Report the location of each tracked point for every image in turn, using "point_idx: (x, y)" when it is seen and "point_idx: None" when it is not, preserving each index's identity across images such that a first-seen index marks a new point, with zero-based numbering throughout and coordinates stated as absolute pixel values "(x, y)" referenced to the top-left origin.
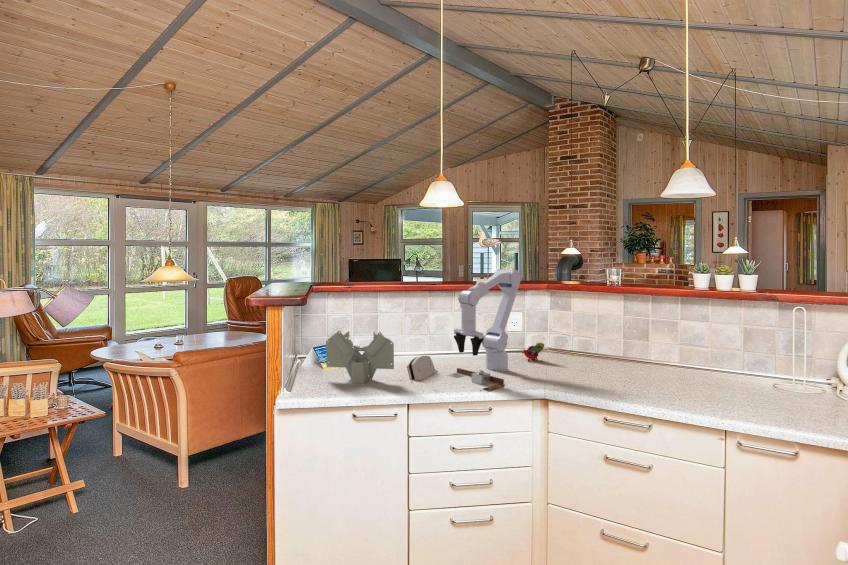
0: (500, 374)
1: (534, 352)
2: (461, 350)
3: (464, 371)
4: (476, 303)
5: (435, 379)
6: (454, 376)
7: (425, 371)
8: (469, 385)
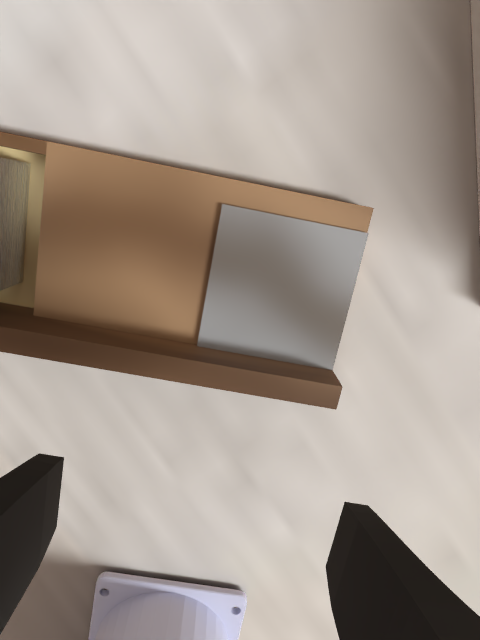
0: (73, 591)
1: None
2: (347, 547)
3: (235, 364)
4: None
5: (431, 142)
6: (274, 239)
7: None
8: None
